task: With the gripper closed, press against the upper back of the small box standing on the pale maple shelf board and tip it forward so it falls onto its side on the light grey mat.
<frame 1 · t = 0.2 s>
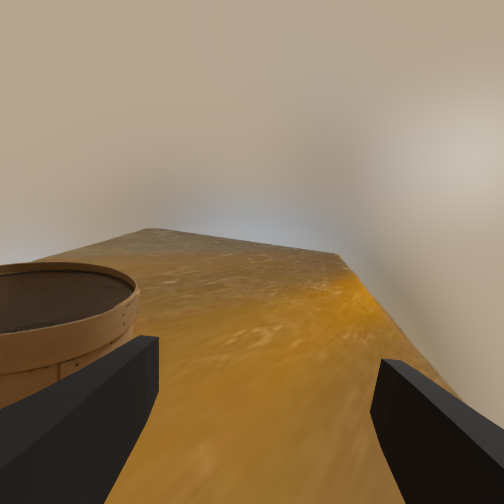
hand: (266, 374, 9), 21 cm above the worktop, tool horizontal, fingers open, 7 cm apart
steamer basket: (40, 361, 40), on the worktop
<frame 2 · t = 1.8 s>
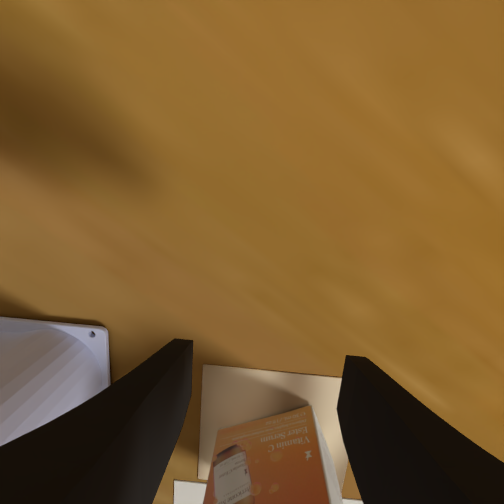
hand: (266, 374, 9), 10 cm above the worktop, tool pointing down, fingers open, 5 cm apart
shelf board: (275, 432, 22), on the worktop
small box: (274, 440, 23), resting on shelf board
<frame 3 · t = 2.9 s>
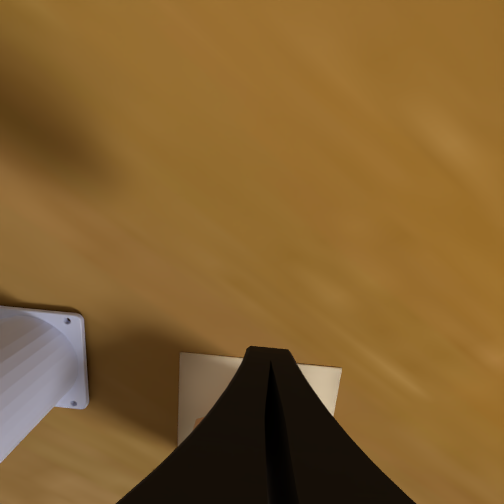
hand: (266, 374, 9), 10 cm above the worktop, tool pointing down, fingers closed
shelf board: (254, 421, 22), on the worktop
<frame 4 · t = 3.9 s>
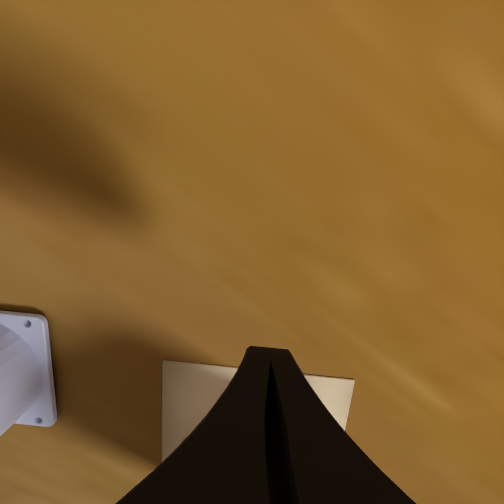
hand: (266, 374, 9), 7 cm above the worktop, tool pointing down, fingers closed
shelf board: (250, 441, 19), on the worktop
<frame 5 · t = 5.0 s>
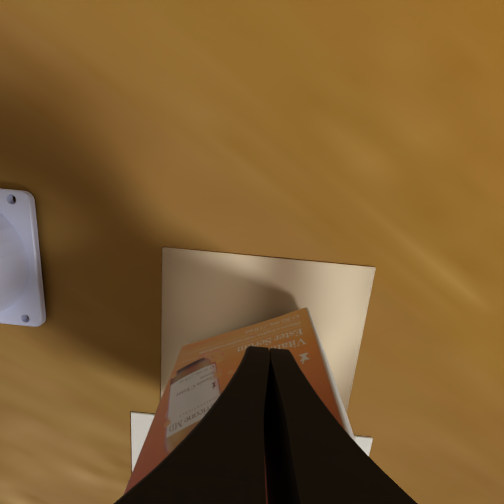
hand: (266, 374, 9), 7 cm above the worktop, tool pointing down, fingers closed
shelf board: (259, 344, 17), on the worktop
small box: (257, 359, 17), resting on shelf board
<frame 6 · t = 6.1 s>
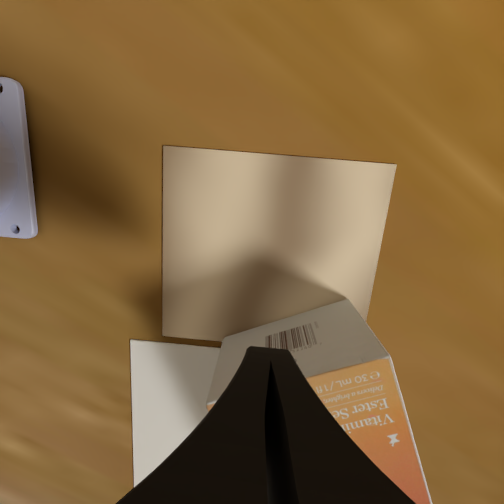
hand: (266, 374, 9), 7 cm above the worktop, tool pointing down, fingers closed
shelf board: (268, 257, 16), on the worktop
small box: (284, 338, 14), point 3 cm above the worktop, touching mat, shelf board
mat: (250, 443, 19), on the worktop
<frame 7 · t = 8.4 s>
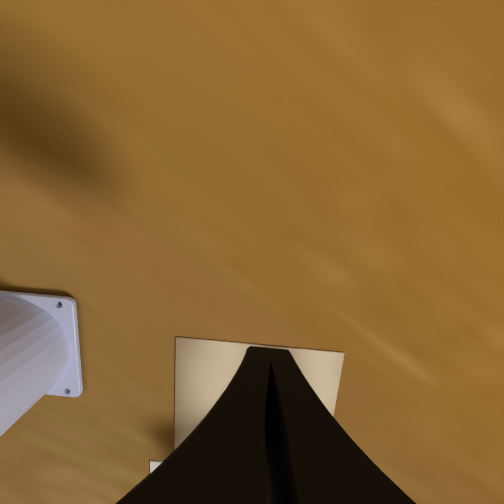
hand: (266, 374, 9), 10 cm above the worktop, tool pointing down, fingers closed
shelf board: (253, 409, 21), on the worktop
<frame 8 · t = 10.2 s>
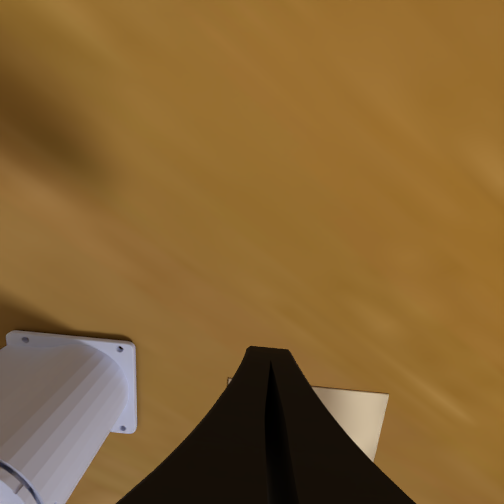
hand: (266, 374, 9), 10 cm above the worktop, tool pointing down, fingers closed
shelf board: (299, 445, 22), on the worktop
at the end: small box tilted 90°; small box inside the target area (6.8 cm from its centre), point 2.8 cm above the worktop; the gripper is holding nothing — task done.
